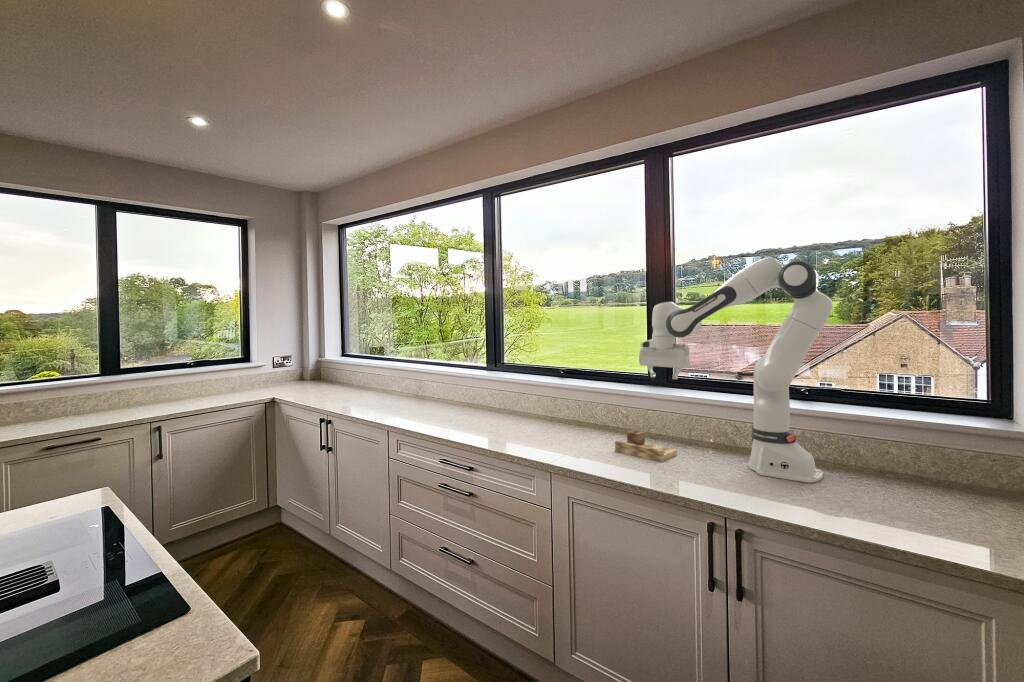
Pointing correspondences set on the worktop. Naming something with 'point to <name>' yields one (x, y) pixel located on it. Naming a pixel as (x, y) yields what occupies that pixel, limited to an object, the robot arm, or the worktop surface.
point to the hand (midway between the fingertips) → (663, 378)
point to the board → (645, 451)
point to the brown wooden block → (636, 437)
